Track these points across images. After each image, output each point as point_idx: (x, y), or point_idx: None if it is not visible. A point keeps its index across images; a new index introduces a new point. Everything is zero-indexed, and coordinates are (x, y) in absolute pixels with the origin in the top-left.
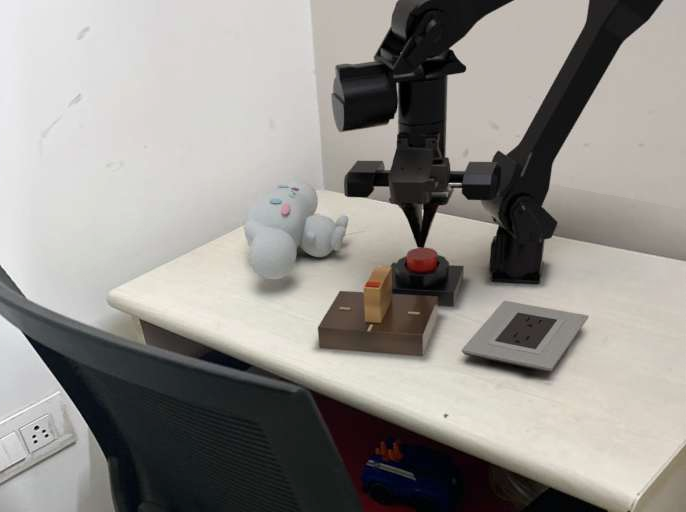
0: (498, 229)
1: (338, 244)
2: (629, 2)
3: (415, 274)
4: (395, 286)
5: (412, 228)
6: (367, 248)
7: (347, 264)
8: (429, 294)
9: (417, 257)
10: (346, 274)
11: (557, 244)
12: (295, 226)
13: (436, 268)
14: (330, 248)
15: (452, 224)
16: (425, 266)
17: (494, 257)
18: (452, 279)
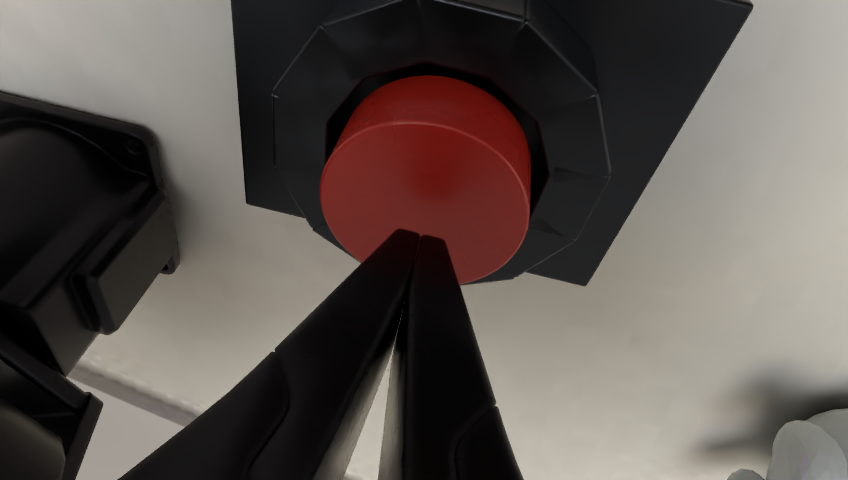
0: (42, 343)
1: (811, 440)
2: None
3: (481, 16)
4: (627, 13)
5: (468, 366)
6: (635, 420)
7: (750, 354)
8: None
9: (453, 167)
10: (789, 290)
11: None
12: None
13: (334, 94)
14: (827, 433)
15: (363, 458)
16: (402, 97)
17: (112, 227)
18: (268, 68)
